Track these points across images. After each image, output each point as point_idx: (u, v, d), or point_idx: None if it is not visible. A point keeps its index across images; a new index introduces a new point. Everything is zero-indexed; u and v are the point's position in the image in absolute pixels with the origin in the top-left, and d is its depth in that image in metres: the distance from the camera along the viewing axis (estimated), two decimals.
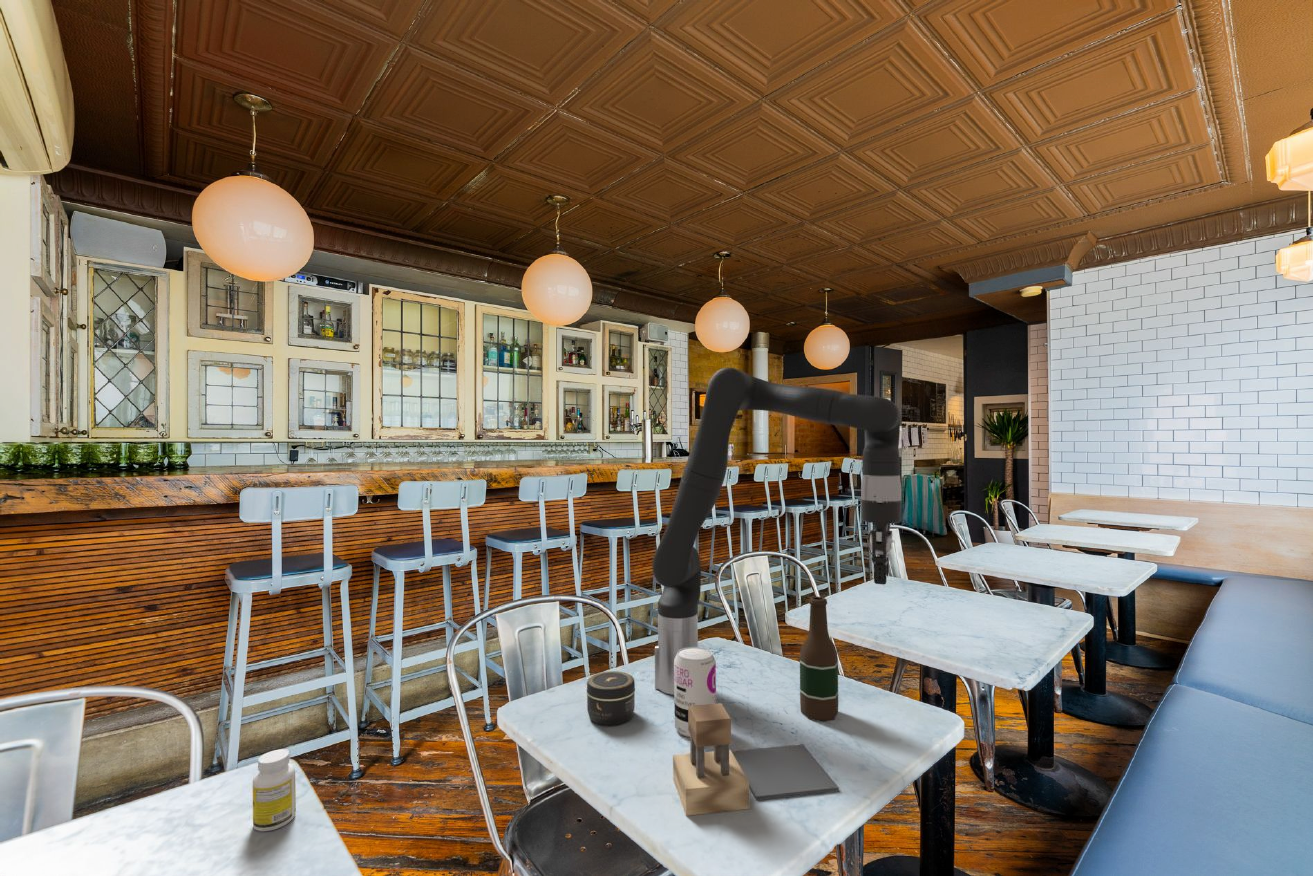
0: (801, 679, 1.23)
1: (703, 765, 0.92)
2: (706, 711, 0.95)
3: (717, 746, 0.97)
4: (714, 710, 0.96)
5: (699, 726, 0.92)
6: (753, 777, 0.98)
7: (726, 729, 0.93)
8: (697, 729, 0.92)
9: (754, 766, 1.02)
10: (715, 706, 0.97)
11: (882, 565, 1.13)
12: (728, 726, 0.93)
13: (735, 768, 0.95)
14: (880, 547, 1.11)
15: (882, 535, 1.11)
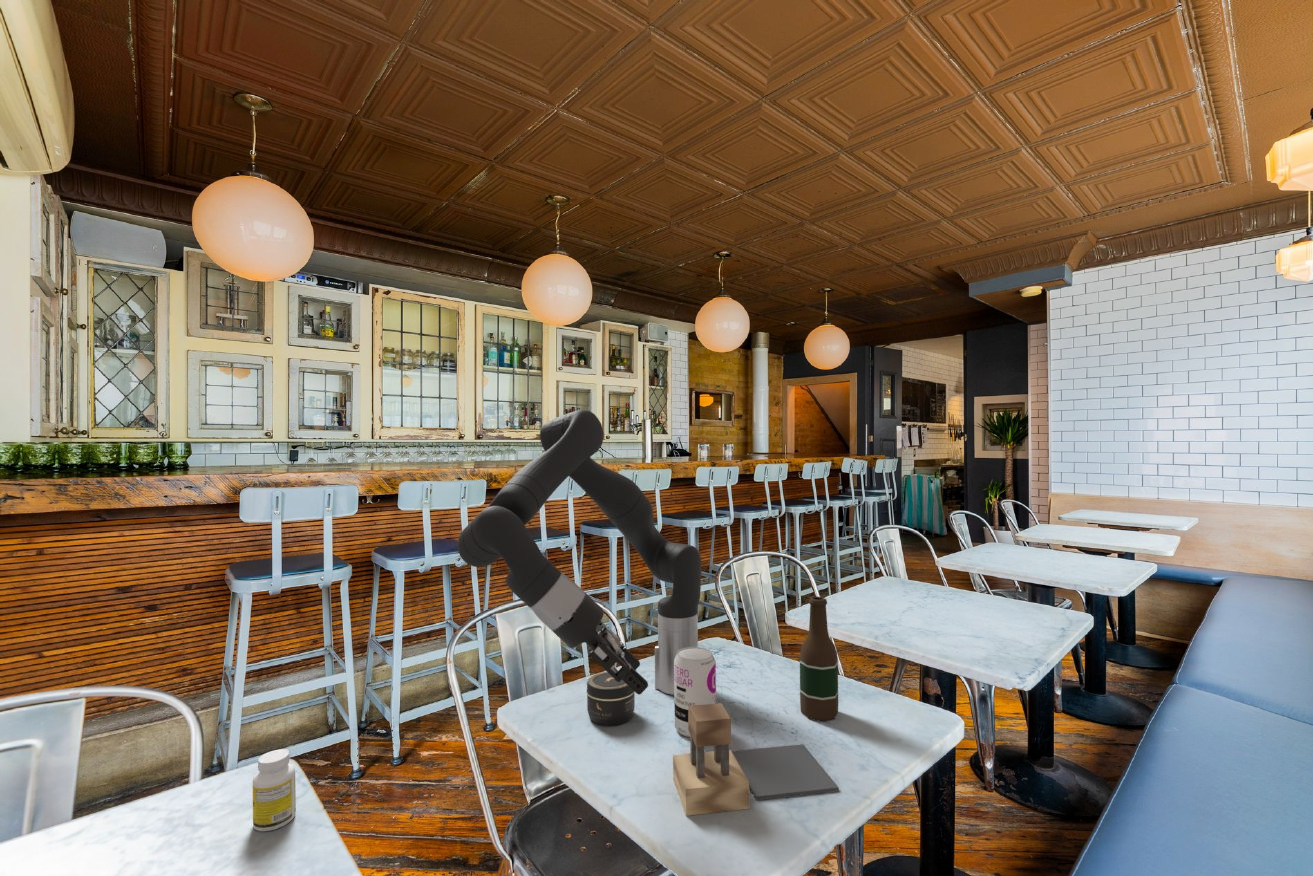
0: (801, 679, 1.23)
1: (703, 765, 0.92)
2: (706, 711, 0.95)
3: (717, 746, 0.97)
4: (714, 710, 0.96)
5: (699, 726, 0.92)
6: (753, 777, 0.98)
7: (726, 729, 0.93)
8: (697, 729, 0.92)
9: (754, 766, 1.02)
10: (715, 706, 0.97)
11: (629, 673, 0.87)
12: (728, 726, 0.93)
13: (735, 768, 0.95)
14: (612, 661, 0.85)
15: (602, 649, 0.85)
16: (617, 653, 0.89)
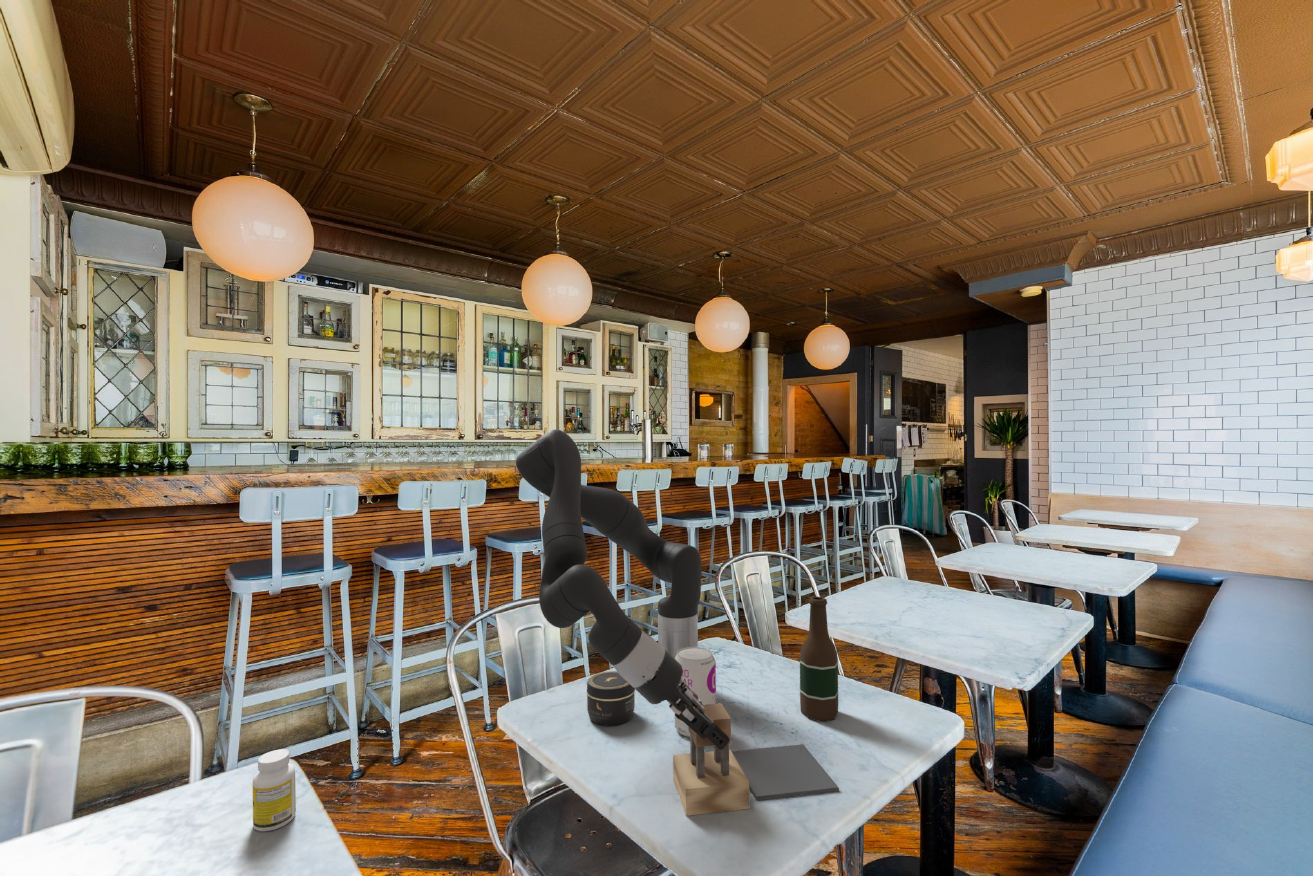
0: (801, 679, 1.23)
1: (703, 765, 0.92)
2: (706, 711, 0.95)
3: None
4: (714, 710, 0.96)
5: None
6: (753, 777, 0.98)
7: (726, 729, 0.93)
8: None
9: (754, 766, 1.02)
10: (715, 706, 0.97)
11: (713, 729, 0.91)
12: (728, 726, 0.93)
13: (735, 768, 0.95)
14: (699, 722, 0.88)
15: (691, 712, 0.88)
16: (700, 710, 0.92)
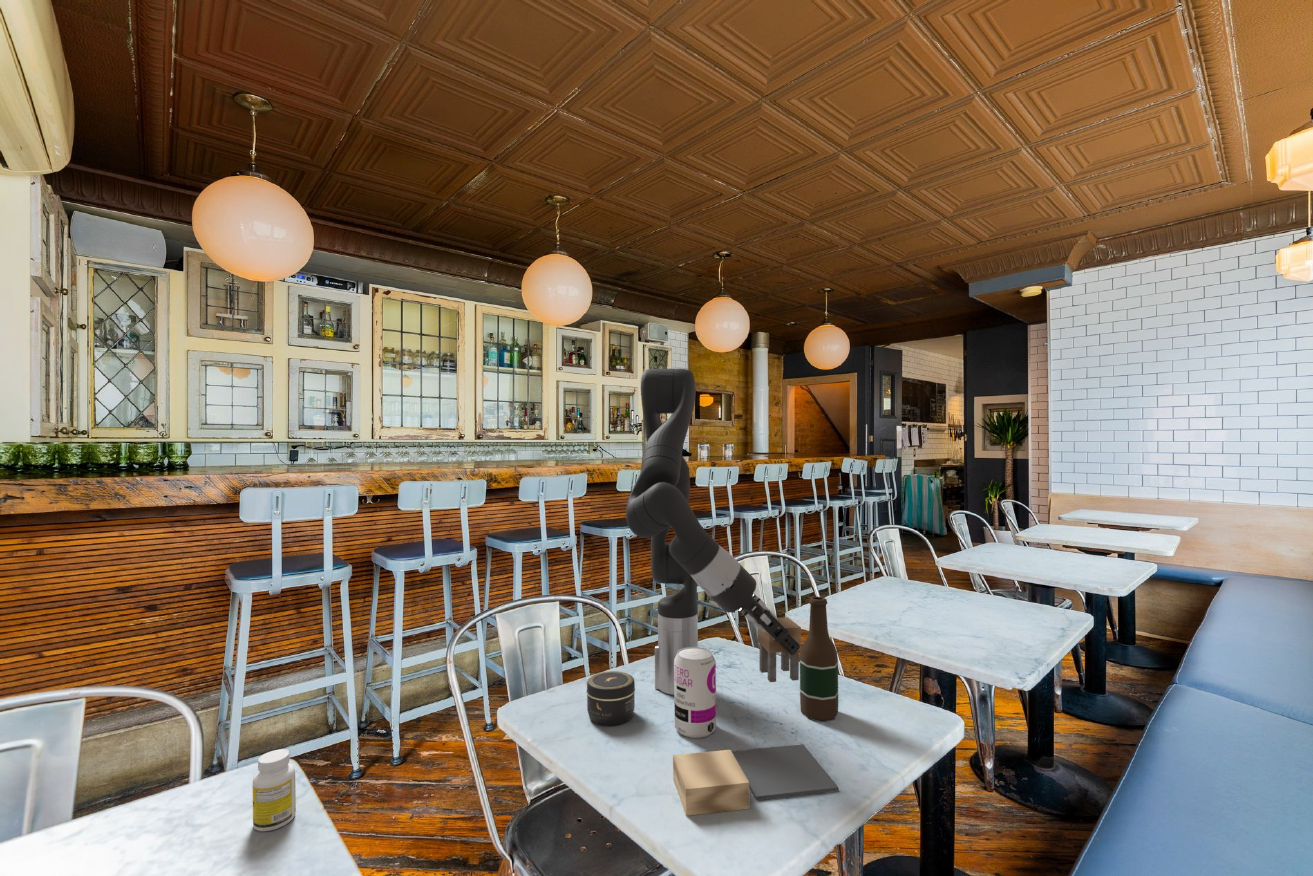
0: (801, 679, 1.23)
1: (775, 670, 0.99)
2: None
3: (785, 656, 1.03)
4: (783, 622, 1.02)
5: None
6: (753, 777, 0.98)
7: (797, 637, 0.99)
8: (770, 636, 0.98)
9: (754, 766, 1.02)
10: (783, 619, 1.04)
11: (785, 635, 0.97)
12: (798, 634, 0.99)
13: (735, 768, 0.95)
14: (775, 626, 0.95)
15: (768, 616, 0.94)
16: None
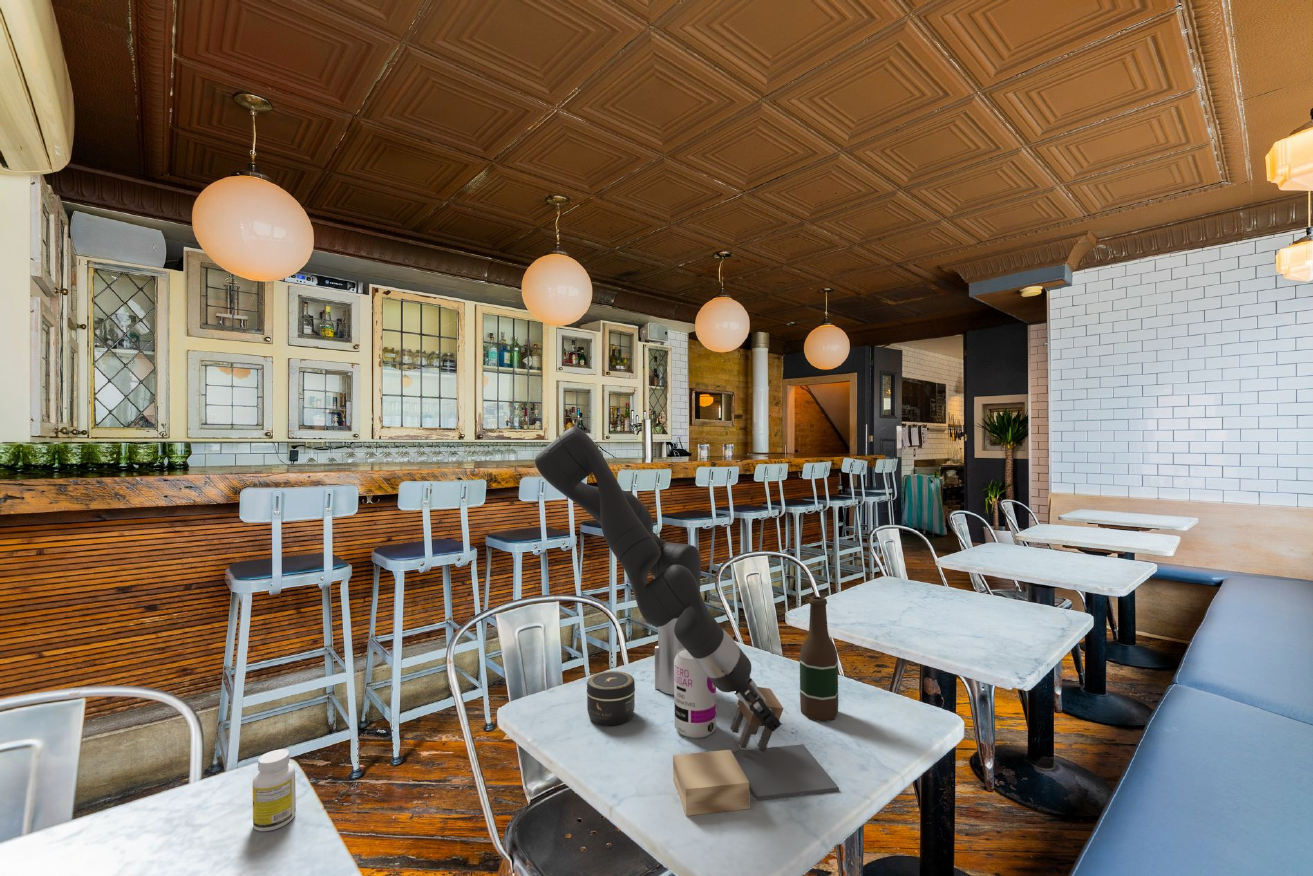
0: (801, 679, 1.23)
1: (748, 739, 1.05)
2: None
3: None
4: (767, 696, 1.08)
5: None
6: (753, 777, 0.98)
7: (777, 716, 1.05)
8: None
9: (754, 766, 1.02)
10: (767, 691, 1.09)
11: None
12: (779, 714, 1.05)
13: (735, 768, 0.95)
14: (765, 713, 1.00)
15: (761, 705, 0.99)
16: None
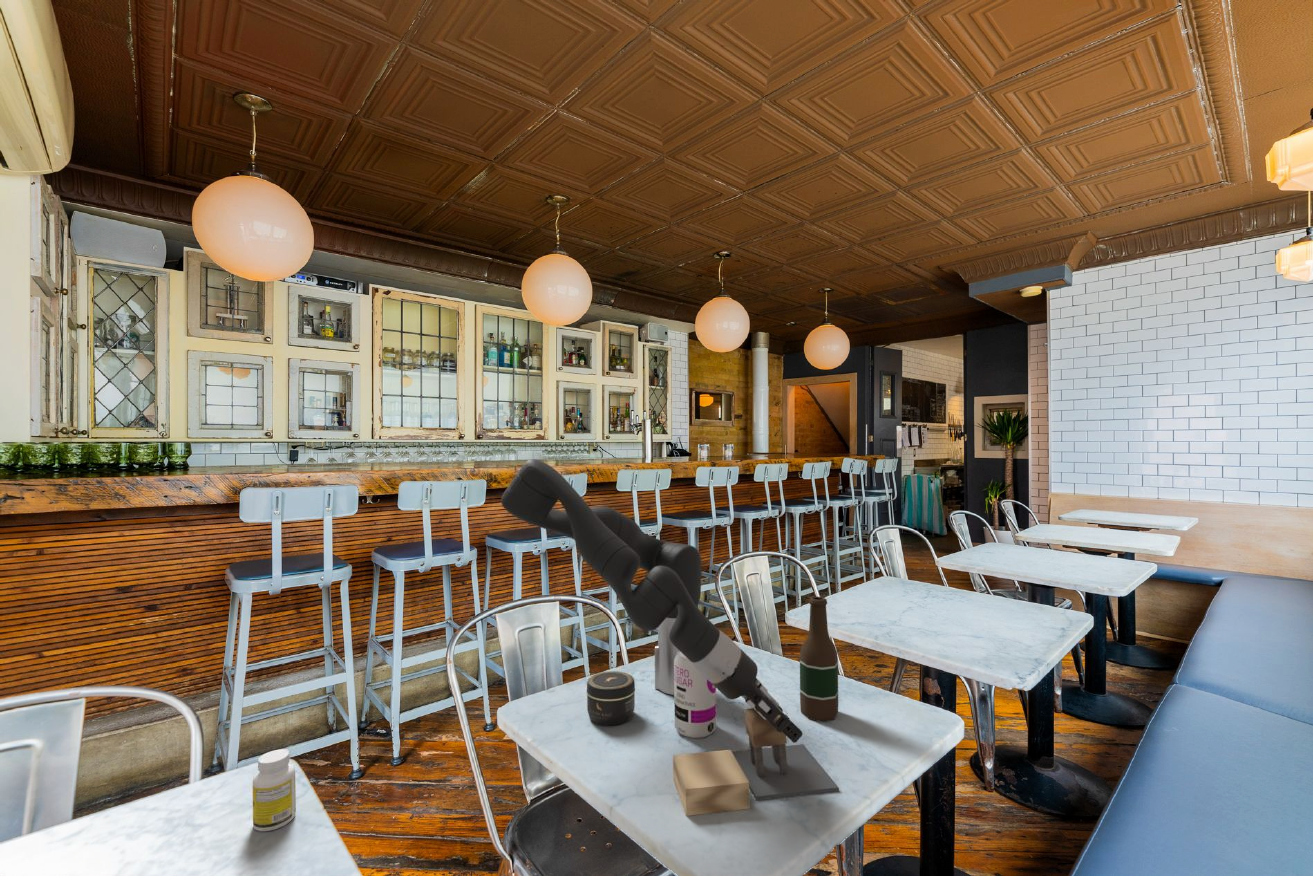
0: (801, 679, 1.23)
1: (762, 764, 0.98)
2: None
3: (775, 745, 1.03)
4: None
5: (755, 728, 0.98)
6: (753, 777, 0.98)
7: None
8: (753, 731, 0.98)
9: (754, 766, 1.02)
10: None
11: (787, 723, 0.96)
12: None
13: (735, 768, 0.95)
14: (775, 714, 0.94)
15: (766, 703, 0.94)
16: (774, 704, 0.97)
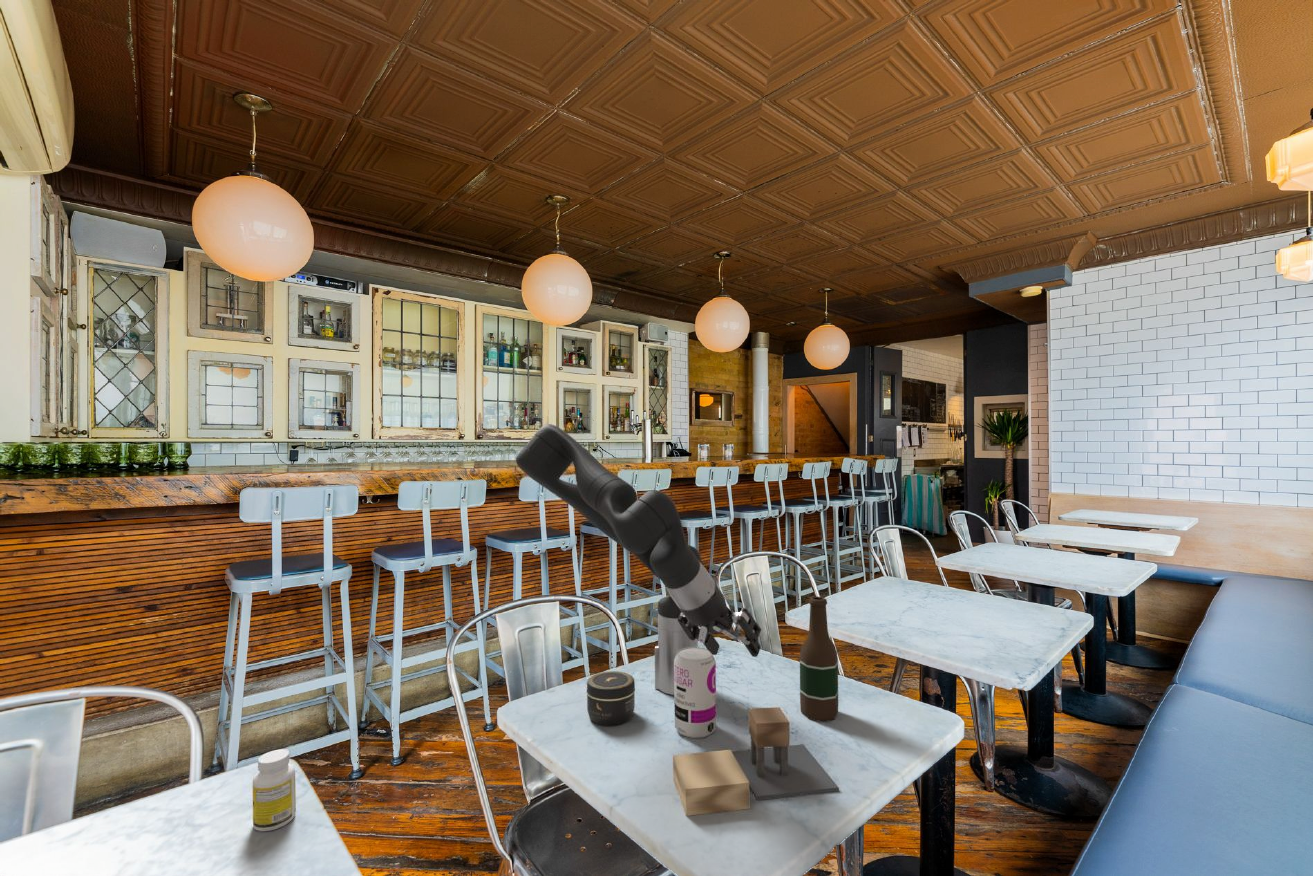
0: (801, 679, 1.23)
1: (763, 764, 0.98)
2: (765, 714, 1.01)
3: (776, 747, 1.03)
4: (773, 714, 1.02)
5: (759, 728, 0.98)
6: (753, 777, 0.98)
7: (785, 732, 0.99)
8: (757, 731, 0.98)
9: (754, 766, 1.02)
10: (774, 709, 1.03)
11: None
12: (787, 729, 0.99)
13: (735, 768, 0.95)
14: (752, 623, 1.00)
15: (746, 613, 0.99)
16: None
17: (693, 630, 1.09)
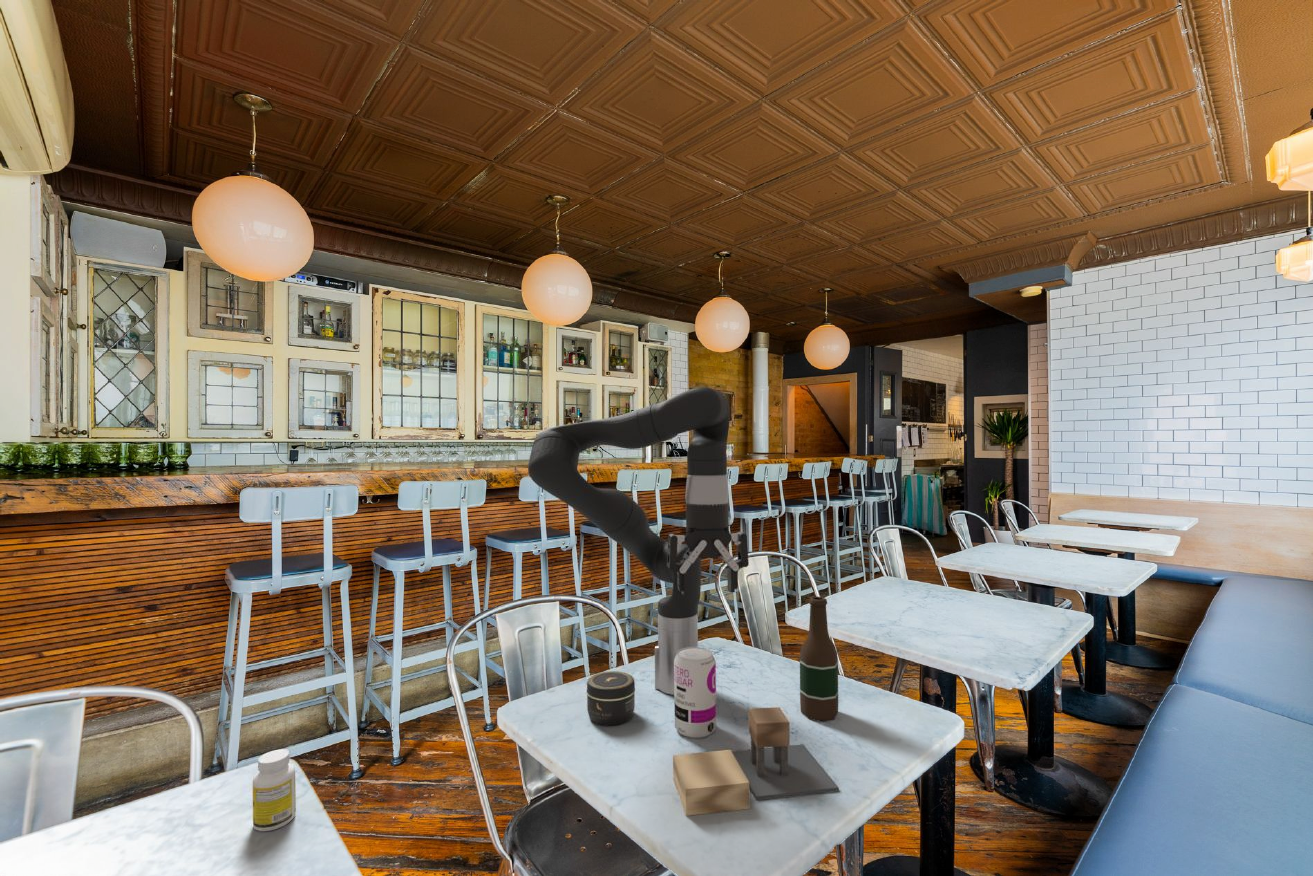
0: (801, 679, 1.23)
1: (763, 764, 0.98)
2: (765, 714, 1.01)
3: (776, 747, 1.03)
4: (773, 714, 1.02)
5: (759, 728, 0.98)
6: (753, 777, 0.98)
7: (785, 732, 0.99)
8: (757, 731, 0.98)
9: (754, 766, 1.02)
10: (774, 709, 1.03)
11: None
12: (787, 729, 0.99)
13: (735, 768, 0.95)
14: None
15: None
16: None
17: None
